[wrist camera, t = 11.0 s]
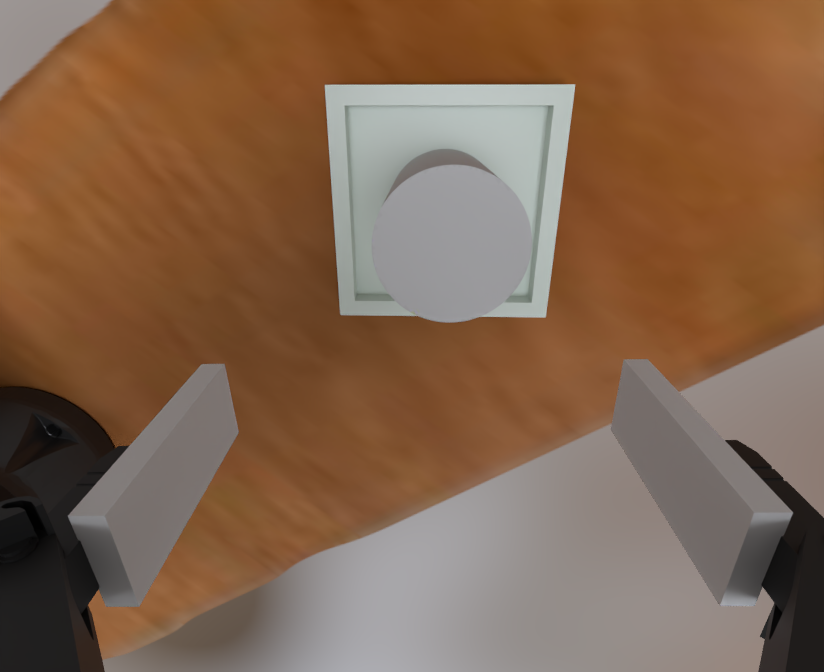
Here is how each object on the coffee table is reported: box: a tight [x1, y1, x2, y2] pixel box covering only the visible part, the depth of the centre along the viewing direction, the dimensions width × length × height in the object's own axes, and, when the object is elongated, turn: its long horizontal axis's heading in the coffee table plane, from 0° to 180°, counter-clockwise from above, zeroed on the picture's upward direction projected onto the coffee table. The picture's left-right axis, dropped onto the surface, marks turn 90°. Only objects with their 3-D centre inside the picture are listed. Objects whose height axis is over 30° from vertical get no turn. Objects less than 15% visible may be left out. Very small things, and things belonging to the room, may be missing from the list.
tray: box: [325, 84, 575, 317], centre depth 35 cm, size 16×16×2 cm
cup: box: [372, 149, 532, 322], centre depth 30 cm, size 8×8×12 cm
